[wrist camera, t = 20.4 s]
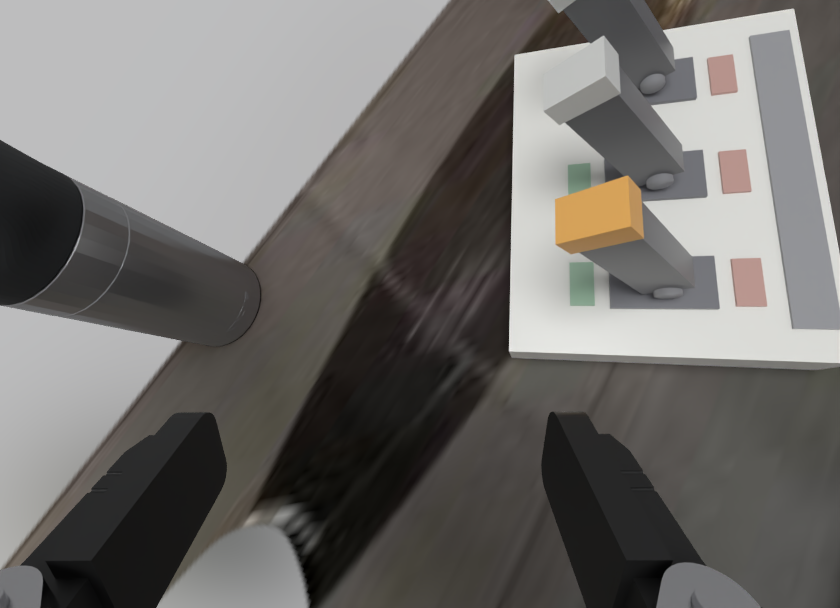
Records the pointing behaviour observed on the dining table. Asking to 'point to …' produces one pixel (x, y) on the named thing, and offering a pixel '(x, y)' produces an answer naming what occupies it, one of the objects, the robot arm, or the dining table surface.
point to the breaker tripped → (623, 238)
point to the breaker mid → (612, 115)
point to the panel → (689, 215)
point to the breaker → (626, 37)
